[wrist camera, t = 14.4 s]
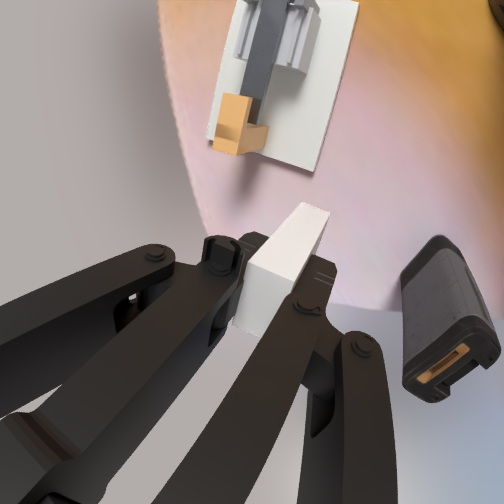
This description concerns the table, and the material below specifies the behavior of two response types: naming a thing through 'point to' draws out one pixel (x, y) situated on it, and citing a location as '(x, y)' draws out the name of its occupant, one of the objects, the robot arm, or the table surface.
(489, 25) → the table surface
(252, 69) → the strap
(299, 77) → the board
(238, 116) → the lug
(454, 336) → the electronic device
